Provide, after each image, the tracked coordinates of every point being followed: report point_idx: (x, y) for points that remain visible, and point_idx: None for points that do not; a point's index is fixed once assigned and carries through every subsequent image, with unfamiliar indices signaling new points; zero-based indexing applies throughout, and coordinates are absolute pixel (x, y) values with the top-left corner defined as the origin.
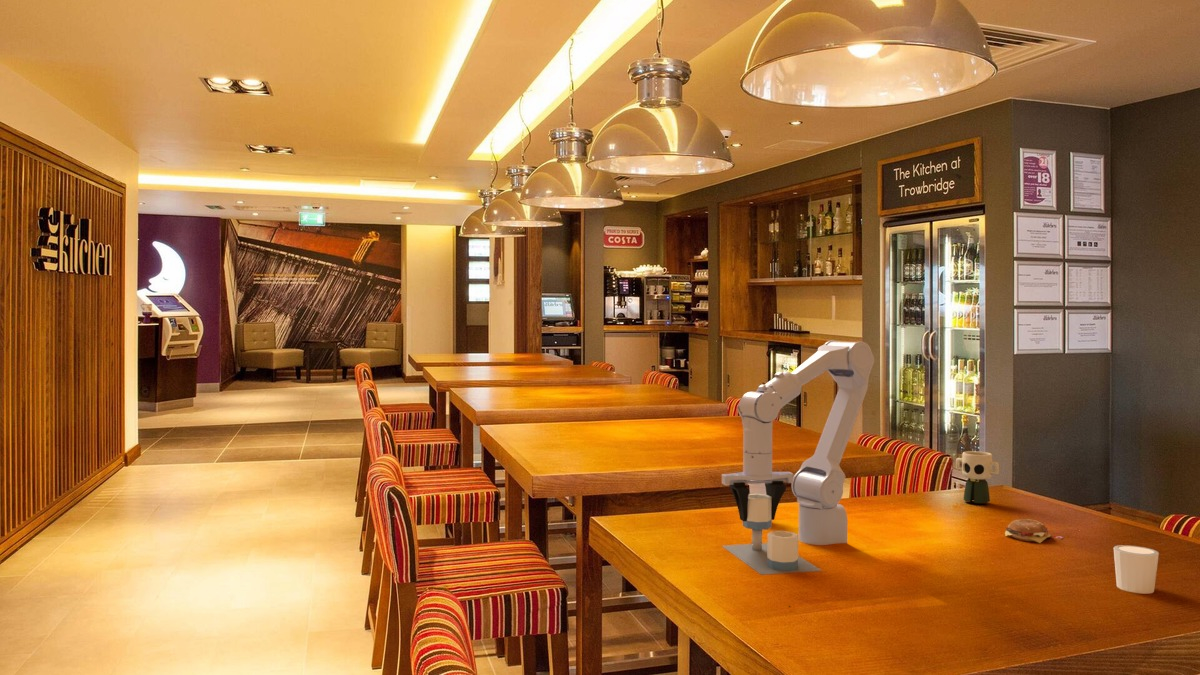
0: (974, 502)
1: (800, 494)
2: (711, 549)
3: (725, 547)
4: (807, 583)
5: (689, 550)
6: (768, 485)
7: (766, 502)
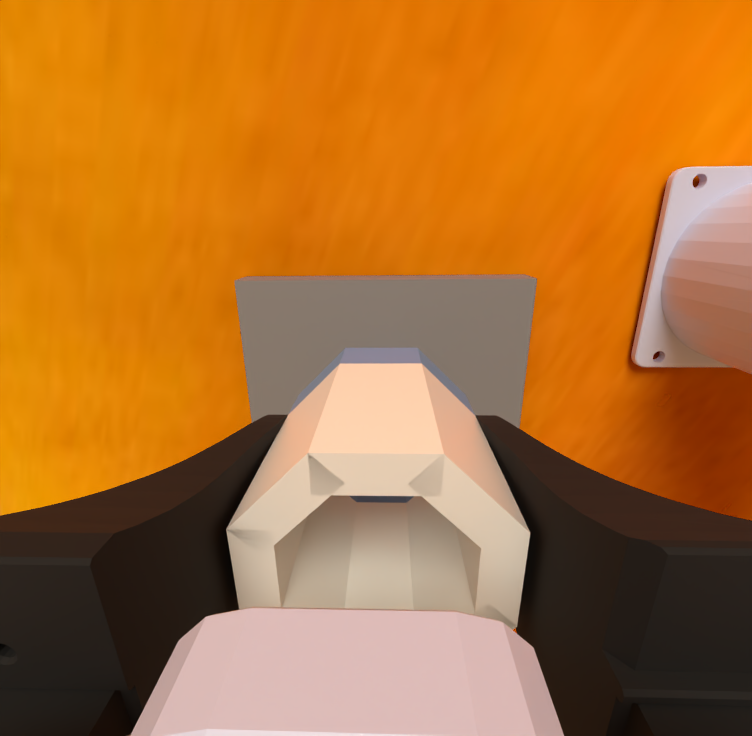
0: None
1: None
2: (214, 198)
3: (245, 315)
4: None
5: (101, 194)
6: (599, 649)
7: None
